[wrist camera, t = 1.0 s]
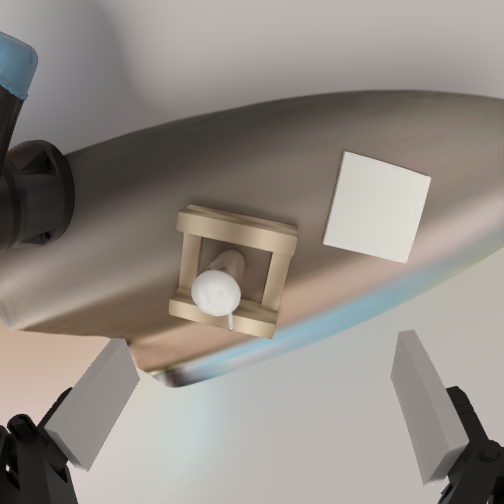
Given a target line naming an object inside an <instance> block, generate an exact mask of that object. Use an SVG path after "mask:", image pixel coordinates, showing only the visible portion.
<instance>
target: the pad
mask: <svg viewBox="0 0 504 504" xmlns="http://www.w3.org/2000/svg"><path fill="white" fill-rule="evenodd" d="M430 180H431V177H428V176H425V175H422V174H419V173H416V172H413V171H410V170H407V169H404V168H401V167H398V166H395V165H391V164H388V163H385V162H382V161H378V160H375V159H371V158H368V157H364V156H361V155H357V154H353V153H350V152H346V151H344V152H343V157H342V161H341V166H340V170H339V175H338V179H337V184H336V188H335V192H334V196H333V201H332V205H331V209H330V213H329V217H328V221H327V225H326V229H325V233H324V237H323V240H322V242H323V244H325V245H329V246H334V247H338V248H342V249H347V250H351V251H355V252H360V253H364V254H368V255H373V256H377V257H381V258H385V259H389V260H393V261H398V262H402V263H406V262H407V259H408V256H409V253H410V250H411V247H412V244H413V241H414V238H415V235H416V231H417V228H418V225H419V221H420V218H421V214H422V211H423V207H424V203H425V200H426V196H427V192H428V188H429V184H430Z"/></svg>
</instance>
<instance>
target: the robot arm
mask: <svg viewBox="0 0 504 504" xmlns="http://www.w3.org/2000/svg"><path fill="white" fill-rule="evenodd" d="M37 64H38V56H37V53H36V51H35V50H34V49H33V48H32V47H31V46H29V45H28V44H26V43H24V42H22V41H20V40H18V39H15V38H14V37H12V36H9V35H7V34H5V33H3V32H0V253H1V252H3V251H5V250H7V249H9V248H13V247H41V246H44V245H46V244H49V243H51V242H53V241H55V240H56V239H58V238H59V237H60V236H61V235H62V234H63V233H64V232H65V230H66V228H67V227H68V224H69V222H70V219H71V216H72V212H73V205H74V188H73V181H72V176H71V172H70V169H69V166H68V164H67V162H66V160H65V158H64V156H63V155H62V153H61V152H60V151H59V150H58V149H57V148H56V147H55V146H54V145H53V144H51V143H49V142H47V141H43V140H34V141H26V142H23V143H20V144H18V145H17V146H15V147H13V148H12V149H10V150H9V151H8V147H9V143H10V140H11V137H12V134H13V131H14V127H15V124H16V121H17V118H18V116H19V113H20V110H21V107H22V105H23V102H24V100H26V99H27V96H28V95H27V92H28V89H29V86H30V83H31V81H32V78H33V75H34V73H35V70H36V68H37ZM391 379H392V382H393V385H394V388H395V390H396V394H397V397H398V400H399V403H400V405H401V409H402V412H403V415H404V418H405V421H406V424H407V428H408V431H409V434H410V437H411V441H412V444H413V448H414V451H415V455H416V459H417V462H418V466H419V470H420V473H421V476H422V481H423V485H424V487H425V486H429V485H433V484H437V483H440V482H442V481H443V480H444V479H445V477H446V476H447V475H448V478H449V481H450V483H449V484H448V485H447V486H446V488H445V489H444V490H443V492H442V493H441V494H443V495H442V496H441V498H440V500H439V502H438V504H487V501H488V504H504V447H501V446H500V445H499V443H497V442H495V441H493V440H489V439H488V437H487V435H486V433H485V431H484V429H483V427H482V425H481V423H480V421H479V419H478V417H477V415H476V413H475V412H474V409H473V407H472V405H471V404H470V401H469V399H468V398H467V395H466V394H465V393H464V392H463V391H462V390H461V389H459V387H457V386H454V387H450V388H446V389H445V387H444V385H443V383H442V381H441V379H440V377H439V375H438V373H437V371H436V369H435V368H434V366H433V364H432V362H431V360H430V358H429V356H428V355H427V353H426V351H425V349H424V347H423V345H422V343H421V341H420V340H419V338H418V336H417V334H416V333H415V331H414V330H409V331H401V332H399V334H398V341H397V346H396V352H395V357H394V363H393V367H392V372H391ZM139 380H140V378H139V376H138V373H137V371H136V368H135V365H134V363H133V360H132V357H131V355H130V352H129V349H128V347H127V344H126V341H125V339H121V338H112V339H111V340H110V342H109V343H108V344H107V345H106V347H105V348H104V349H103V350H102V352H101V353H100V354H99V355H98V357H97V358H96V359H95V360H94V362H93V363H92V364H91V366H90V367H89V368H88V369H87V371H86V372H85V374H83V376H82V377H81V378H80V380H79V381H78V382H77V384H76V385H75V386H74V387H73V388H72V387H70V388H68V389H67V390H66V391H64V392H63V393H62V394H61V395H60V397H59V398H58V399H57V402H55V403H54V404H53V406H52V408H50V410H49V411H48V412H47V414H46V415H45V416H44V417H43V419H42V420H41V422H40V423H39V424H38V426H37V427H36V426H35V424H34V423H33V421H32V420H31V418H30V417H29V416H28V415H26V414H18V415H16V416H14V417H12V418H11V419H10V420H9V422H8V424H7V428H8V430H9V431H10V432H11V433H9V432H8V431H7V430H6V429H5V427H3V426H1V425H0V504H78V502H77V498H76V495H75V491H74V487H73V484H72V480H71V476H70V472H69V468H68V467H67V465H66V463H67V461H68V460H69V461H70V462H71V463H72V464H73V465H74V467H76V468H78V469H81V470H84V471H87V472H88V471H89V470H90V468H91V466H92V464H93V462H94V460H95V458H96V457H97V455H98V453H99V451H100V449H101V447H102V446H103V444H104V442H105V440H106V438H107V436H108V435H109V433H110V431H111V429H112V427H113V426H114V424H115V422H116V420H117V419H118V417H119V415H120V413H121V412H122V410H123V408H124V406H125V404H126V403H127V401H128V399H129V398H130V396H131V394H132V392H133V390H134V389H135V387H136V385H137V384H138V382H139ZM6 465H8V466H9V467H10V468H9V471H7V470H6ZM488 499H489V500H488Z"/></svg>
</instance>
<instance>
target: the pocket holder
mask: <svg viewBox="0 0 504 504" xmlns="http://www.w3.org/2000/svg"><path fill="white" fill-rule="evenodd" d="M176 231H179V232H184V239H183V248H182V258H181V267H180V278H179V288H178V289H177V290H176V292H175V293H174V294H173V296H172V297H171V298H170V303H169V314H171V315H174V316H178V317H181V318H185V319H189V320H193V321H197V322H200V323H204V324H208V325H212V326H216V327H220V328H225V329H229V321H228V314H227V315H224V316H213V315H210V314H207V313H204V312H202V311H201V310H200V309H199V308H198V307H197V305H196V304H195V302H194V300H193V298H192V294H191V290H192V285H193V283H194V281H195V279H196V278H197V277H198V274H199V266H200V258H201V251H202V243H203V237H207V238H212V239H216V240H221V241H226V242H230V243H235V244H239V245H244V246H249V247H253V248H258V249H262V250H267V251H272V252H273V254H272V259H271V264H270V268H269V272H268V277H267V281H266V286H265V290H264V295H263V299H262V303H258V302H254V301H249V300H245V299H240V302H239V305H238V306H237V308H236V309H235V310H234V311H232V317H233V328H234V329H233V331H237V332H242V333H246V334H250V335H255V336H259V337H264V338H269V339H272V337H273V334H274V330H275V326H276V320H277V311H278V307H279V303H280V299H281V296H282V292H283V288H284V284H285V280H286V276H287V272H288V268H289V263H290V259H291V256H294V252H295V248H296V244H297V239H298V227H297V226H293V225H288V224H284V223H279V222H274V221H270V220H265V219H260V218H256V217H251V216H246V215H241V214H236V213H232V212H227V211H222V210H217V209H212V208H207V207H202V206H196V205H191V204H190V205H189V206H187V207H185V208H183V209H182V210H180V211H178V216H177V225H176Z"/></svg>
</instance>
